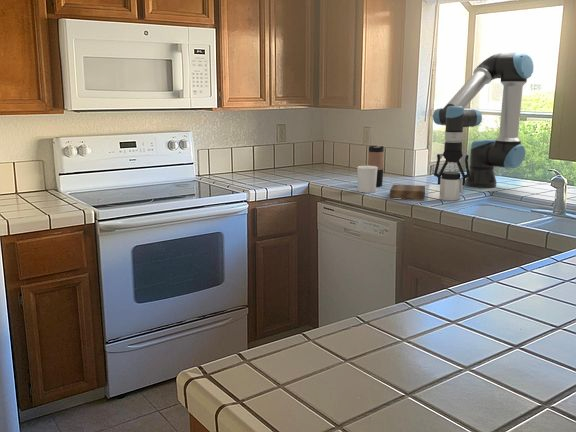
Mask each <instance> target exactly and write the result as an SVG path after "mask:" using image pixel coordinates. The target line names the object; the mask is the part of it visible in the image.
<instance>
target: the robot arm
mask: <svg viewBox="0 0 576 432" xmlns="http://www.w3.org/2000/svg"><path fill="white" fill-rule="evenodd" d="M533 73H534V61H533V59H532V57H531V56H530V55H529V54H528V53H526V52H519V51H518V52H504V53H501V52H500V53H495V54H493V55H490V56H489V57H487V58H485V59H484V60H483V61H482V62H480V63H479V65H477V67H475V68H474V70H473V73H472V75H471V77H469V79H468V80H467V81H466V82H465V83H464V84H463V85H462V86H461V88H459V90H458V91H457V92H456V93H455V95H453V96H452V98H451V99H450V100H449V101H448V102H447V103H446V105H445V106H444V107H443V108H442V107H440V108H436V109H435V110H434V112H433V114H432V120H433V122H434V123H435V124H436V125H439V126H445V132H444V146H443V150H444V151H443V153H437V154H436V164H435V169H434V173H433V176H434V177H437V185H439V193H440V192H441V190H442V178H441V177H442V173H443V172H445V169H446V167H447V165H448V163H454V164H456V165H457V168H458V170H459V171H460V172H459V173H460V176H461V177H460V179H461V186H460V194H463V186H467V187H471V188H480V189H481V188H485V189H486V188H495V187H497V177H496V175H495V168H494V167H497V168H503V169H504V168H505V169H517V168H519V167H520V166H521V164H522V163H523V162H524V160H525V157H526V149H525V146H524V145H522V140H521V139H520V138H519V130H520V122H521V121H520V120H521V111H522V110H521V109H522V108H521V107H522V101H523V100H522V99H523V87H524V86H525V85H526V84H527V81H528V79H529V78H530V77H531V76H532V75H533ZM496 79H500V83H501V84H502V86H503V88H502V89H503V90H502V100H501V113H500V125H499V132H498V133H499V134H498V135H499V136H498V137H497V138H496V139H480V140H479V139H478V140H473V141H471V145H470V156H469V154H467V153H466V154H465V153H463V142H462V141H463V136H464V135H463V134H464V128H473V127H478V126H480V124H481V123H482V120H483V114H482V113H481V112H480V111H479V110H478V109H465V108H466V107H467V106H468V105H469V104H470V103H471V101H472V100H473V99H474V98H475V97H476V95H478V94H479V92H480V91H481V90H482V89H483V88H484V86H485V85H488V84H490V83H491V82H492V81H493V80H496ZM462 157H463V160H464V163H465V171H466V174H465V172H464V169H463V167H462V164H461V162H460V160H461V159H462ZM442 158H444V159H445V161H444V163H443V164H442V167H441V168H440V171H439V167H440V163H441V159H442ZM469 159H470V160H469ZM438 171H439V173H438Z"/></svg>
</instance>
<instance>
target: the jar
mask: <svg viewBox="0 0 576 432" xmlns="http://www.w3.org/2000/svg"><path fill="white" fill-rule="evenodd" d="M441 178H442V190H441V192H440V191H439V197H438V198H439V199H440V200H442V199H443V201H450V202H452V201H453V202H455V201H459V200H460V199H461V193H460V186H461V172H458V171H443V173H442V175H441Z"/></svg>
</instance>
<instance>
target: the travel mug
mask: <svg viewBox="0 0 576 432" xmlns="http://www.w3.org/2000/svg"><path fill="white" fill-rule="evenodd" d="M384 151H385V150H384V146H383V145H380V146H377V145H369V146H368V159H367V160H368V161H367V166H376V167H378V169H377V181H376V188H380V186H381V187H383V180H384V179H383V178H384V159H385V157H384Z"/></svg>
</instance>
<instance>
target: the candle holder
mask: <svg viewBox="0 0 576 432" xmlns="http://www.w3.org/2000/svg"><path fill="white" fill-rule="evenodd" d="M356 169H357V172H356V173H357V188H358V189H357V191H358V192H359V193H361V192H365V193H364V194H372V193H371V192H374V193H375V192H376V190H377V187H376V181H377V169H378V167H376V166H368V165H359V166H357V167H356Z"/></svg>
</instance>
